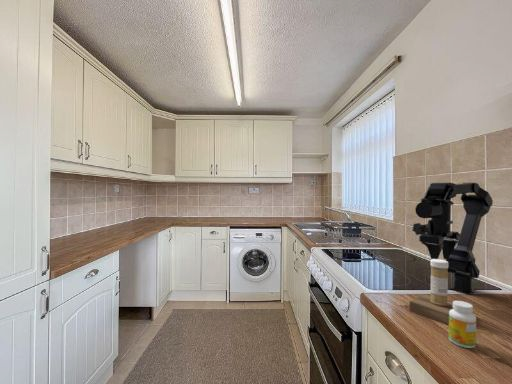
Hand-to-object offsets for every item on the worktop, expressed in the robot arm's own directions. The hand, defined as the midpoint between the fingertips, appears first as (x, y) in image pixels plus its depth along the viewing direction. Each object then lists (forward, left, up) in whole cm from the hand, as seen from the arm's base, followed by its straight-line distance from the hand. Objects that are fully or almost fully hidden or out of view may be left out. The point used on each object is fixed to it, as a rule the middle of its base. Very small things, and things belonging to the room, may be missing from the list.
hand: (439, 260), depth 95 cm
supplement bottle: (+28, +16, -13) cm, 35 cm away
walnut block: (+15, +6, -13) cm, 21 cm away
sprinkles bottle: (+15, +6, -10) cm, 19 cm away
